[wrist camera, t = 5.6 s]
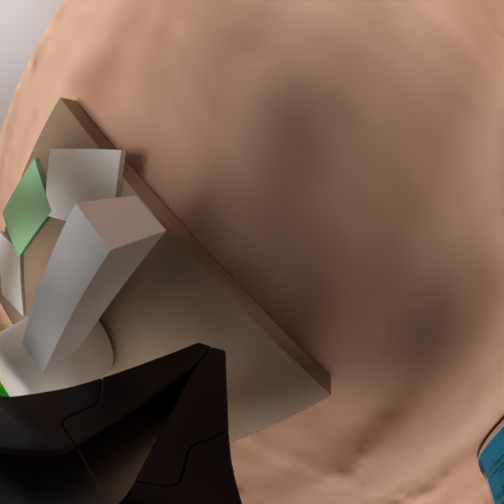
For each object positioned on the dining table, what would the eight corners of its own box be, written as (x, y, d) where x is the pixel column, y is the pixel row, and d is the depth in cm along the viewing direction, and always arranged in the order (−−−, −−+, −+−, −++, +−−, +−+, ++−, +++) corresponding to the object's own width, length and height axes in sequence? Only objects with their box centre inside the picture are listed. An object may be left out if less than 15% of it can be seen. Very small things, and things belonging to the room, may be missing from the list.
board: (345, 366, 11) (348, 389, 9) (150, 457, 16) (142, 470, 15) (81, 84, 10) (61, 78, 9) (1, 280, 16) (-12, 285, 14)
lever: (96, 384, 13) (41, 435, 8) (48, 324, 12) (-14, 362, 8) (223, 255, 9) (132, 327, 4) (139, 164, 9) (20, 162, 4)
